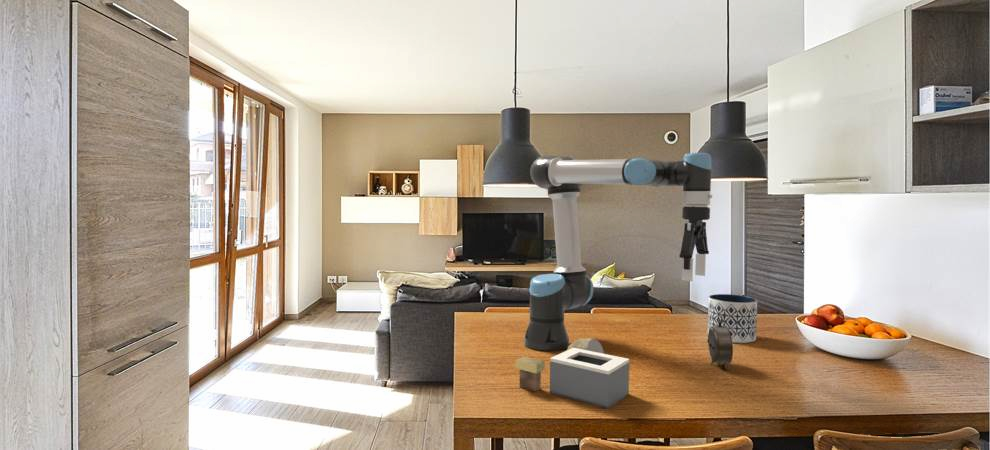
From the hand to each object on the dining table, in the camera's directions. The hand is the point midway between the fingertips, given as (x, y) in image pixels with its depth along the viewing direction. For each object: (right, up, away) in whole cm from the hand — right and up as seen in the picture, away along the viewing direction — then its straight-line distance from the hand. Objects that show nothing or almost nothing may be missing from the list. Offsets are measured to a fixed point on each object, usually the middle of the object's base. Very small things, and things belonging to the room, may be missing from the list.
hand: (693, 278), depth 152 cm
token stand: (-50, -27, -18) cm, 59 cm away
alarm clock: (+8, -27, +1) cm, 28 cm away
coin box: (-35, -27, -21) cm, 49 cm away
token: (-50, -22, -18) cm, 57 cm away
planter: (+26, -25, +33) cm, 49 cm away
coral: (-32, -26, -2) cm, 42 cm away
